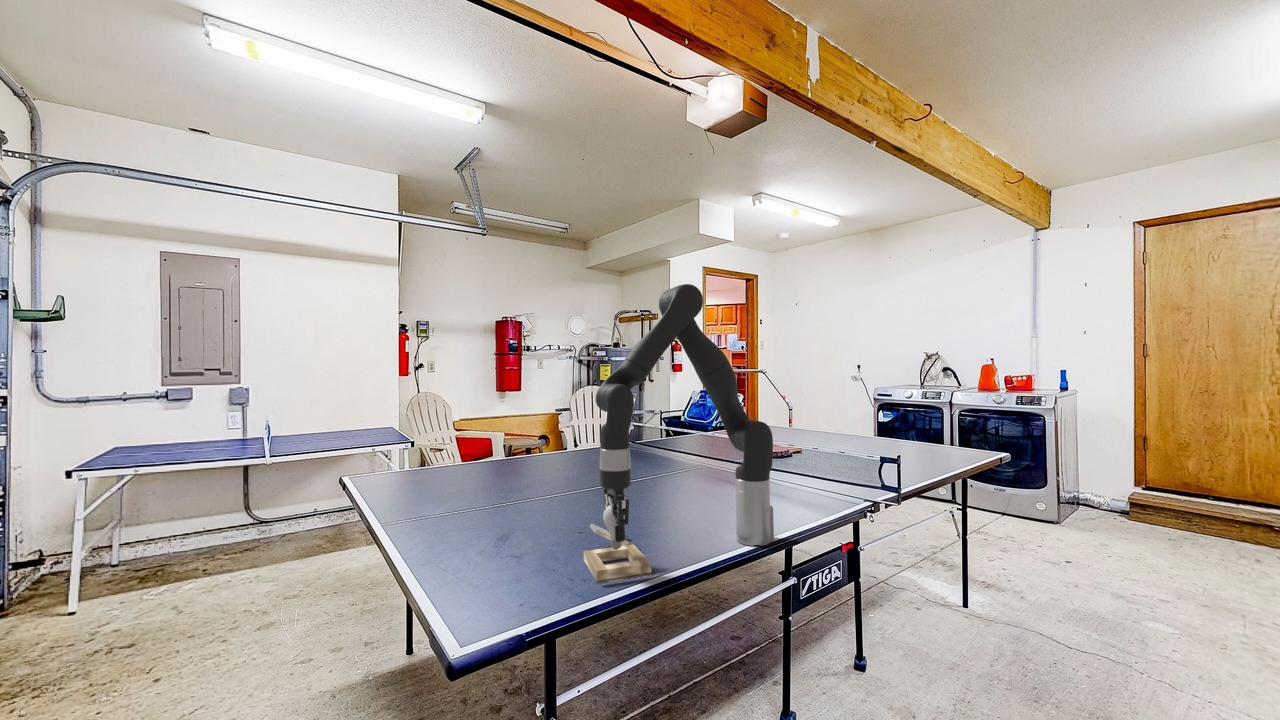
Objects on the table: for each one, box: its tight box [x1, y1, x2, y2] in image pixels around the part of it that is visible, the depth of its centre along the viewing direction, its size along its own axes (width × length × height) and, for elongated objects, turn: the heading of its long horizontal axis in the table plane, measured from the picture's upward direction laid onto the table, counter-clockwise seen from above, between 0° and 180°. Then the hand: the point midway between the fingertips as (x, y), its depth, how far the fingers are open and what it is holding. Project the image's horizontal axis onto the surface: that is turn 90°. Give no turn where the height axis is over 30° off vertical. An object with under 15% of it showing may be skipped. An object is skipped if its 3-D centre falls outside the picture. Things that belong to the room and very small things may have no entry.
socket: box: [583, 544, 652, 585], centre depth 119 cm, size 13×13×3 cm
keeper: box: [589, 522, 630, 546], centre depth 132 cm, size 12×6×1 cm, turn 109°
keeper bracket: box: [625, 532, 637, 547], centre depth 134 cm, size 2×9×2 cm, turn 19°
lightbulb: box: [602, 505, 626, 550], centre depth 119 cm, size 6×6×11 cm
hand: (616, 536), depth 119 cm, fingers closed on lightbulb, 6 cm apart
